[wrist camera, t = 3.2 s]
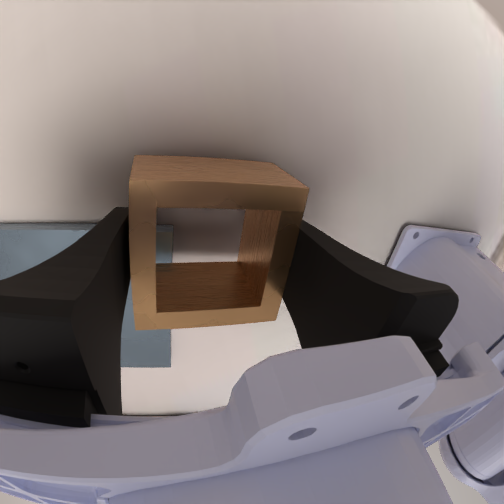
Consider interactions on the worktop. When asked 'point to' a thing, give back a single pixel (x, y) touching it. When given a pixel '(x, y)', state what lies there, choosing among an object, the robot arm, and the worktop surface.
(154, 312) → the square wooden frame
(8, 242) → the piston plate
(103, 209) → the worktop surface
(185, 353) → the worktop surface
